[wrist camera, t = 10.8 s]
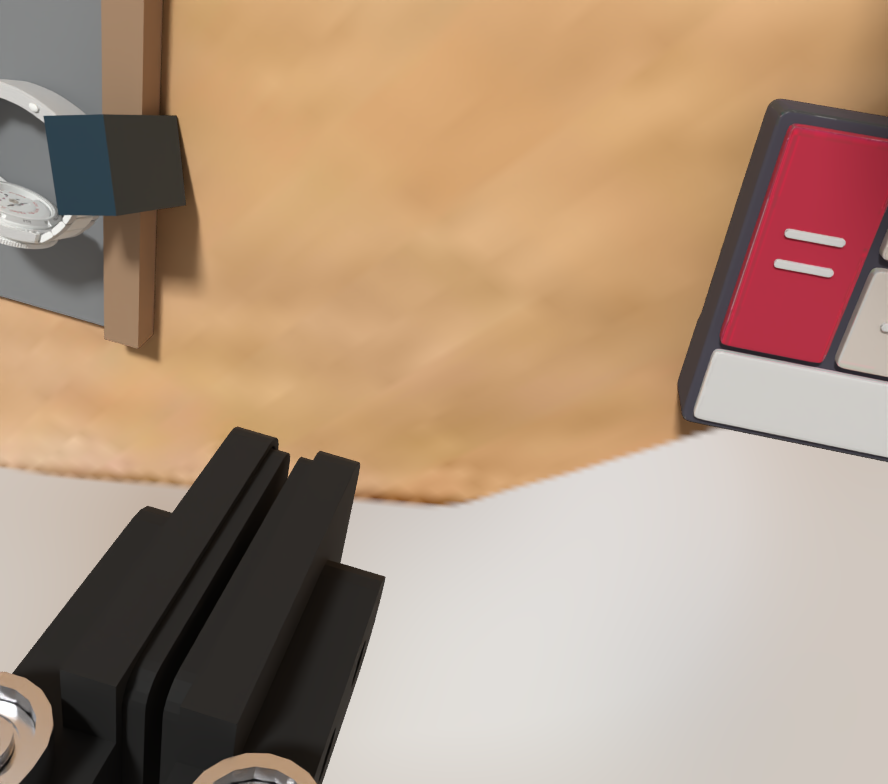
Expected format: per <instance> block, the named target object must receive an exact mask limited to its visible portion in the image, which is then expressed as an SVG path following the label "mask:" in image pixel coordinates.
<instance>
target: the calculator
mask: <svg viewBox="0 0 888 784" xmlns="http://www.w3.org/2000/svg"><path fill="white" fill-rule="evenodd" d="M678 392H679V398H680V405H681V411H682V416H683V418H684V419H685V420H687V421H690V422H695V423H699V424H704V425H709V426H714V427H719V428H724V429H729V430H734V431H739V432H743V433H748V434H754V435H759V436H763V437H768V438H773V439H778V440H782V441H787V442H792V443H798V444H802V445H807V446H812V447H817V448H822V449H826V450H831V451H836V452H841V453H846V454H851V455H856V456H861V457H866V458H871V459H876V460H880V461H886V462H888V117H886V116H880V115H874V114H868V113H863V112H857V111H851V110H845V109H839V108H833V107H827V106H821V105H815V104H810V103H804V102H798V101H792V100H786V99H776V100H774V101H772V102H771V103H770V104H769V106H768V108H767V110H766V113H765V116H764V119H763V122H762V125H761V128H760V131H759V134H758V137H757V140H756V143H755V147H754V150H753V153H752V156H751V159H750V162H749V165H748V168H747V171H746V174H745V177H744V180H743V183H742V187H741V190H740V193H739V196H738V199H737V202H736V205H735V208H734V211H733V215H732V218H731V221H730V224H729V227H728V230H727V234H726V237H725V240H724V243H723V246H722V249H721V253H720V256H719V259H718V262H717V265H716V268H715V272H714V275H713V278H712V281H711V284H710V287H709V291H708V294H707V297H706V300H705V303H704V307H703V310H702V312H701V315H700V317H699V319H698V321H697V324H696V327H695V330H694V333H693V336H692V339H691V342H690V345H689V348H688V351H687V354H686V358H685V361H684V364H683V367H682V370H681V373H680V376H679V379H678Z"/></svg>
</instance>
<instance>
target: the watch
mask: <svg viewBox="0 0 888 784" xmlns="http://www.w3.org/2000/svg"><path fill="white" fill-rule="evenodd" d="M0 98H3V99H5V100H8V101H10V102H12V103H15V104H17V105H19V106H21V107H22V108H24V109H26V110H27V111H29V112H30V113H32V114H33V115H35V116H36V117H37V118H39V119H40V120H41V121H42V122H44V123H45V130H46V137H47V143H48V150H49V156H50V163H51V170H52V176H53V183H54V189H55V196H56V202H57V207H56V206H55V205H54V204H53V203H51V202H50V201H49V200H47V199H46V198H44V197H42V196H41V195H39V194H37V193H35V192H33V191H31V190H29V189H27V188H24V187H22V186H19V185H16V184H13V183H9V182H7V181H5V180H4V179H3V178H2V177H0V243H1V244H5V245H8V246H13V247H18V248H24V249H44V248H49V247H52V246H53V245H55V244H56V243H57V242H58V240H59V239H65V238H71V237H75V236H78V235H80V234H81V233H83V232H84V231H85V230H88V229H89V228H90V227H91V226H92V225H93V224H94V223H95V221H96V220H95V219H98V218H99V216H119V215H126V214H132V213H139V212H145V211H152V210H158V209H165V208H171V207H177V206H184V205H186V200H185V190H184V181H183V171H182V162H181V153H180V143H179V134H178V124H177V116H169V115H115V114H94V115H86V114H85V113H84V112H83V111H81V110H80V109H79V108H78V107H76V106H75V105H73V104H72V103H71V102H69V101H68V100H66V99H65V98H63V97H62V96H60V95H58V94H56V93H55V92H53V91H51V90H48V89H46V88H44V87H41V86H39V85H36V84H33V83H30V82H26V81H18V80H7V79H0ZM61 215H64V217H63V218H62V216H61Z"/></svg>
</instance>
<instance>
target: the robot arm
mask: <svg viewBox="0 0 888 784" xmlns="http://www.w3.org/2000/svg"><path fill="white" fill-rule="evenodd" d="M278 445H279V443H278V439H277V438H275V437H271V436H268V435H264V434H261V433H257V432H254V431H251V430H247V429H244V428H240V427H235V428H234V429H233V430H232V431H231V432H230V433H229V435H228V436H227V438H226V439H225V440H224V442H223V443H222V444H221V446H220V447H219V449H218V450H217V451H216V453H215V454H214V456H213V457H212V458H211V460H210V461H209V463H208V464H207V465H206V467H205V468H204V470H203V471H202V472H201V474H200V475H199V476H198V478H197V479H196V481H195V482H194V483H193V485H192V486H191V488H190V489H189V490H188V492H187V493H186V495H185V496H184V497H183V499H182V500H181V501H180V503H179V504H178V506H177V507H176V509H175V510H174V511H173V513H170V512H167V511H164V510H160V509H157V508H153V507H149V506H147V507H145V508H143V509H141V510H140V511H139V512H138V513H137V514H136V515H135V516H134V517H133V519H132V520H131V522H129V524H128V525H127V527H126V528H125V529H124V530H123V532H122V533H121V534H120V535H119V537H118V538H117V539H116V540H115V542H114V543H113V544H112V546H111V547H110V548H109V550H108V551H107V552H106V554H105V555H104V556H103V558H102V559H101V560H100V561H99V562H98V564H97V565H96V566H95V568H94V569H93V570H92V571H91V573H90V574H89V575H88V577H87V578H86V579H85V581H84V582H83V583H82V584H81V586H80V587H79V588H78V589H77V591H76V592H75V593H74V595H73V596H72V597H71V599H70V600H69V601H68V602H67V604H66V605H65V606H64V608H63V609H62V610H61V611H60V613H59V614H58V615H57V617H56V618H55V619H54V621H53V622H52V623H51V624H50V626H49V627H48V628H47V629H46V631H45V632H44V633H43V635H42V636H41V637H40V639H39V640H38V641H37V643H36V644H35V645H34V646H33V647H32V649H31V650H30V651H29V653H28V654H27V655H26V657H25V658H24V659H23V660H22V662H21V663H20V664H19V666H18V667H17V668H16V669H15V671H14V672H13V673H12V674H10V673H7V672H0V784H322V782H323V779H324V776H325V773H326V770H327V767H328V764H329V761H330V758H331V755H332V752H333V749H334V746H335V743H336V740H337V737H338V734H339V731H340V728H341V725H342V722H343V720H344V717H345V714H346V711H347V708H348V705H349V702H350V699H351V696H352V692H353V690H354V687H355V684H356V681H357V678H358V675H359V672H360V669H361V666H362V662H363V659H364V656H365V653H366V649H367V646H368V643H369V639H370V636H371V633H372V629H373V625H374V622H375V618H376V614H377V610H378V606H379V603H380V599H381V595H382V590H383V586H384V582H385V577H384V576H381V575H378V574H374V573H371V572H367V571H364V570H361V569H358V568H354V567H351V566H348V565H344V564H341V563H340V562H341V557H342V553H343V547H344V543H345V538H346V533H347V528H348V523H349V519H350V514H351V509H352V504H353V499H354V494H355V490H356V485H357V480H358V475H359V469H360V463H359V462H356V461H353V460H350V459H346V458H343V457H339V456H336V455H332V454H329V453H326V452H322V451H319V452H318V453H317V455H316V456H315V458H314V460H310V459H307V458H303V457H300V458H299V460H298V461H297V463H296V464H295V466H294V468H293V470H292V471H291V473H290V475H289V477H288V470H289V463H290V454H289V453H286V452H283V451H279V450H278ZM287 477H288V478H287Z"/></svg>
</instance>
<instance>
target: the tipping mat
mask: <svg viewBox="0 0 888 784" xmlns="http://www.w3.org/2000/svg"><path fill="white" fill-rule="evenodd" d="M162 10H163V0H0V79H7V80H18V81H26V82H30V83H33V84H36V85H39V86H41V87H44V88H46V89H48V90H51V91H53V92H55V93H56V94H58V95H60V96H62V97H63V98H65V99H66V100H68V101H69V102H71V103H72V104H73V105H75V106H76V107H78V108H79V109H80V110H81V111H83V112H84V113H85V114H86V115H94V114H115V115H160V80H161V45H162ZM0 177H2V178H3V179H4V180H5V181H7V182H9V183H13V184H16V185H19V186H22V187H24V188H27V189H29V190H31V191H33V192H35V193H37V194H39V195H41V196H42V197H44V198H46V199H47V200H49V201H50V202H51V203H53V204H54V205H55V206H56V207H57V202H56V196H55V189H54V183H53V176H52V170H51V163H50V156H49V150H48V143H47V137H46V130H45V123H44V122H42V121H41V120H40V119H39V118H37V117H36V116H35V115H33V114H32V113H30V112H29V111H27V110H26V109H24V108H22V107H21V106H19V105H17V104H15V103H12V102H10V101H8V100H5V99H3V98H0ZM61 216H62V218H63V217H64V215H61ZM95 220H96V221H95V223H94V224H93V225H92V226H91V227H90V228H89V229H88V230H85V231H84V232H83V233H81V234H80V235H78V236H75V237H71V238H65V239H59V240H58V242H57V243H56V244H55V245H53V246H52V247H49V248H44V249H24V248H18V247H13V246H8V245H5V244H1V243H0V296H2V297H5V298H9V299H12V300H16V301H19V302H22V303H26V304H29V305H33V306H36V307H40V308H43V309H47V310H50V311H53V312H57V313H60V314H64V315H67V316H71V317H74V318H78V319H81V320H84V321H88V322H91V323H95V324H98V325H102V326H104V339H106V340H109V341H113V342H116V343H120V344H123V345H126V346H130V347H133V348H137V349H138V348H139V347H141V346H142V345H143V344H144V343H145V342H146V341H147V340H148V339H149V338H150V337H151V336H152V335H153V327H154V292H155V257H156V221H157V210H152V211H145V212H139V213H132V214H126V215H119V216H99V218H98V219H95Z"/></svg>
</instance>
